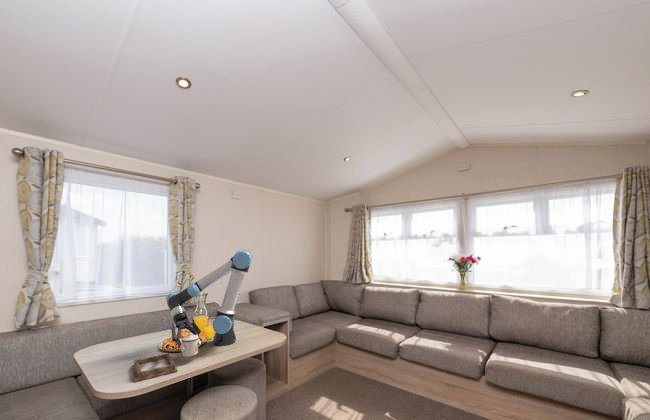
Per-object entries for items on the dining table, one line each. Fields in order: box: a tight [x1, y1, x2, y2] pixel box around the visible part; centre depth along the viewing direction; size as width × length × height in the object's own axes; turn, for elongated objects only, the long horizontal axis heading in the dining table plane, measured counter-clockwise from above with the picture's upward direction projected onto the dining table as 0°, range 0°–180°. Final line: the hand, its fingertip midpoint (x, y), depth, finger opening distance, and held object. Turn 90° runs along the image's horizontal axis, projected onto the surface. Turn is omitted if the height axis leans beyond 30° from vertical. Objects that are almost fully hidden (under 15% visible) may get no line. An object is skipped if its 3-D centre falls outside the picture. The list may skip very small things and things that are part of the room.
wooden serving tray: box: [131, 353, 179, 383], centre depth 158 cm, size 19×22×4 cm
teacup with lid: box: [181, 332, 199, 358], centre depth 172 cm, size 12×9×12 cm
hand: (191, 347), depth 169 cm, fingers closed on teacup with lid, 9 cm apart
